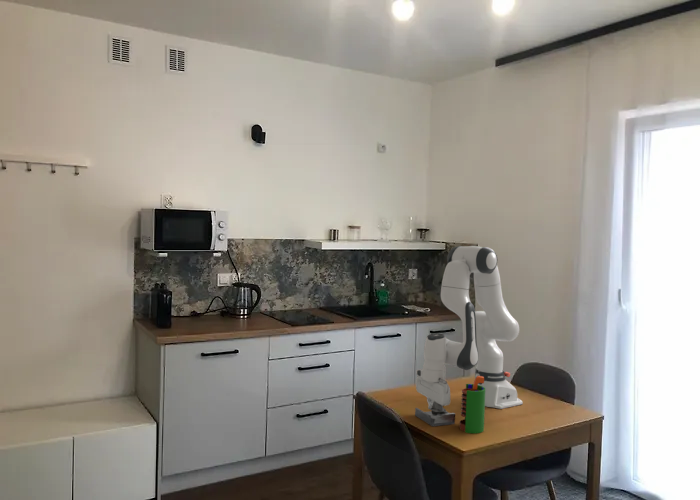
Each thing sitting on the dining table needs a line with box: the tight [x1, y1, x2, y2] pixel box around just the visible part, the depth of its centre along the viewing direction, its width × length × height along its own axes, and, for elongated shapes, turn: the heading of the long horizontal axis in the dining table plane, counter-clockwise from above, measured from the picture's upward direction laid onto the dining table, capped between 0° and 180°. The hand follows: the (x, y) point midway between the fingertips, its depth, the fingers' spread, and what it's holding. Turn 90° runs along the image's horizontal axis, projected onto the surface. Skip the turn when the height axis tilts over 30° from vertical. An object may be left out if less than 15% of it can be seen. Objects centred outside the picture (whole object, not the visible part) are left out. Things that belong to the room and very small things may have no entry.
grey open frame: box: [414, 407, 456, 427], centre depth 226 cm, size 13×10×4 cm
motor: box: [459, 376, 486, 434], centre depth 217 cm, size 10×9×20 cm
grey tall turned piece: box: [430, 402, 447, 415], centre depth 223 cm, size 6×6×12 cm
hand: (431, 409), depth 227 cm, fingers closed
